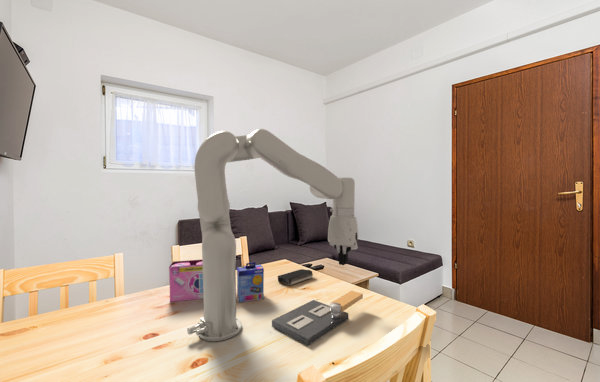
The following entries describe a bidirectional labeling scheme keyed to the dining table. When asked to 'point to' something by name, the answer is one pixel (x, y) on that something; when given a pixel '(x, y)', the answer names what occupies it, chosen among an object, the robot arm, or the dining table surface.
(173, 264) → the gum box
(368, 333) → the dining table surface
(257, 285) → the ink cartridge box
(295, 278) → the black sponge
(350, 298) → the swing arm
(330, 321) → the grey flat block
